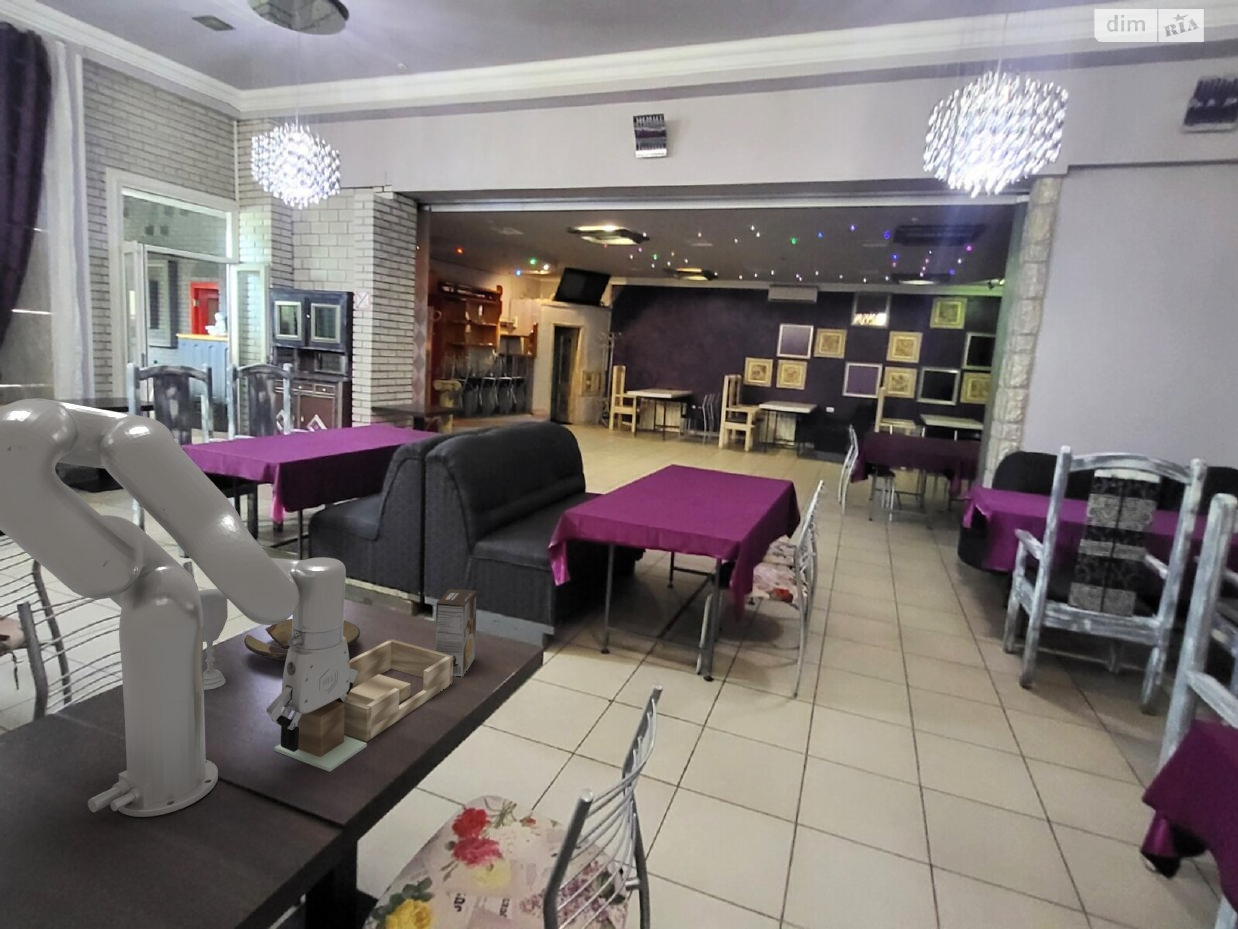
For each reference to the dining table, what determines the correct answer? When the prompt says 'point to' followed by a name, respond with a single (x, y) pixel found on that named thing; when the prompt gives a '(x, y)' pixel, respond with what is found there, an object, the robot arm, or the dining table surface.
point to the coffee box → (457, 628)
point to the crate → (391, 686)
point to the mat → (329, 759)
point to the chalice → (212, 632)
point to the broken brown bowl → (283, 633)
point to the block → (322, 729)
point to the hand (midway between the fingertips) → (313, 735)
